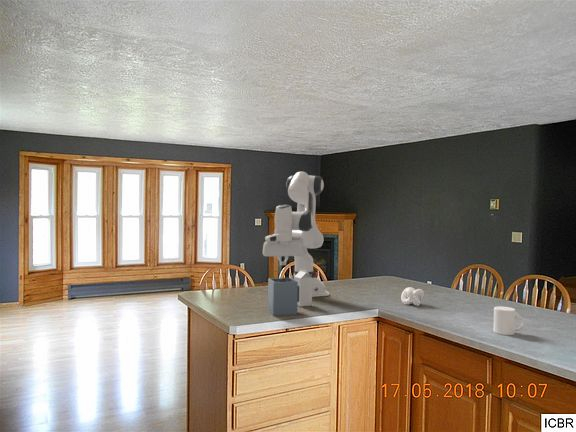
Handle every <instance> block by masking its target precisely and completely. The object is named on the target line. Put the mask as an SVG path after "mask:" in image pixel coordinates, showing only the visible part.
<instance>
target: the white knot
mask: <svg viewBox="0 0 576 432" xmlns="http://www.w3.org/2000/svg"><path fill="white" fill-rule="evenodd" d="M424 295H425V293H424V290H423V289H421V288H417V289H415V288H414V287H406V288H405V289H404V290H403V291H402V292H401V296H400V299H401V302H402V303H403V304H404V305H406V306H409V305H411V304H413V305H414V306H415V307H419V306H420V305H421V301H422V299H423V297H424Z"/></svg>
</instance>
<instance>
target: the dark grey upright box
mask: <svg viewBox="0 0 576 432" xmlns="http://www.w3.org/2000/svg"><path fill="white" fill-rule="evenodd" d="M279 278H280V277H278V278H276V277H275V278H274V277H273V278H272V277H271V278H268V280H267V311H268V312H269V313H270V314H271V315H272V316H275V315H276V316H291V315H293V316H294V315H298V305H297V302H299V285H298V282H297V281H296V280H294V278H293V277H285V278H286V282H279Z"/></svg>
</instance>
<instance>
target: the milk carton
mask: <svg viewBox="0 0 576 432" xmlns="http://www.w3.org/2000/svg"><path fill="white" fill-rule="evenodd" d="M293 279H294V280H296V281H297V282H298V285H299V302H297V307H308V306H309V307H310V306H312V305H313V297H312V277H311V276H310V275H309V273H308V272H307V270H303V269H300V271H299V272H298V273H297V274H296V275H295V276H294V275H293Z"/></svg>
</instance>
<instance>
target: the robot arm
mask: <svg viewBox="0 0 576 432" xmlns="http://www.w3.org/2000/svg"><path fill="white" fill-rule="evenodd" d="M285 183H286V185H285V186H286V190H287V194H288V197H289V198H290V200H291V201H293V202H294V203H297V205H296V208H297V209H296V211H293V209H292V205H289V204H279V205H277V206H276V207H275V211H274V225H275V226H274V233H272V234H269V235H266V236H265V237H264V240H265V241H264V242H263V245H262V255H263V256H264V257H277V260H278V262H279V266H287V261H288V260H289V257H293V258H294V259H293V260H294V271H293V277H294V276H295V275H296V274H297V273H298V272H299V271H300V269H303V270H307V272H308V273H309V275H310V276H311V277H312V298H315V297H316V298H317V297H326V296H327V297H328V296H330V292H329V291H327V290H326V286H325V285H326V284H324V283H323V282H322V281H321V280H320V279H319V278H317V276H319V274H320V273H319V272H317V271H314V258H313V256H312V255H311V254H310V253H309V252H308V249H318V248H321V247H322V246H323V244H324V240H325V239H324V235H323V233H322V232H321V231H320V230H319V227H318V226H317V223H316V206H317V205H316V202H317V201H316V200H317V199H316V197H317V196H318V195H320V194H321V193H322V192H323V190H324V187H325V186H324V185H325V184H324V180H323V177H322V176H320V175H319V176H318V175H311V174H310V175H309V174H308V173H307V172H306V171H297V172H296V173H295V174H294V175H290V176H289V177H287V179H286V182H285ZM282 257H284V261H282V260H281V259H282Z"/></svg>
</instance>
